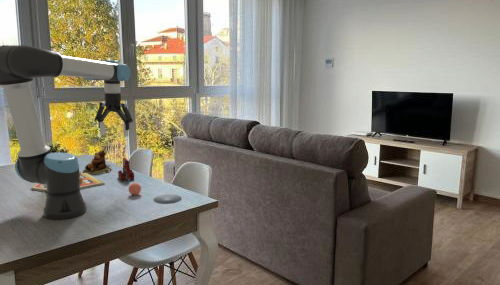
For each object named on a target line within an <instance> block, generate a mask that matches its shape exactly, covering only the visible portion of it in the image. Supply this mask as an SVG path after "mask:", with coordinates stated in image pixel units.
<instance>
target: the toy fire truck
mask: <svg viewBox="0 0 500 285" xmlns="http://www.w3.org/2000/svg"><path fill="white" fill-rule="evenodd" d="M117 176H118V178H119V181H121V182H122V181H124V180H132V181H133V180H135V172H134V171H133V169H131V168H130V161H129V160H128V159H127V158H126V157H122V170H118V171H117Z"/></svg>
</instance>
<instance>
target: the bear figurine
mask: <svg viewBox="0 0 500 285" xmlns="http://www.w3.org/2000/svg"><path fill="white" fill-rule="evenodd" d="M105 157H106V152H105V149H102V150H99V151H96V152H95V154H94V155H93V158H92V159H91V162H90V163H87V164H85V166H84V169H83V171H82V172H81V173H88V174H90V175H98V174H106V173H111V172H112V167H111V166H112V165H111V164H107V163H106V158H105Z"/></svg>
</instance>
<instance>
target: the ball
mask: <svg viewBox="0 0 500 285" xmlns="http://www.w3.org/2000/svg"><path fill="white" fill-rule="evenodd" d="M141 191H142V187H141V184H140V183H138V182H133V183H131V184H130V185H129V187H128V192H129V194H131V195H133V196H137V195H139V194H140V193H141Z"/></svg>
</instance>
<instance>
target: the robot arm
mask: <svg viewBox="0 0 500 285" xmlns="http://www.w3.org/2000/svg"><path fill="white" fill-rule="evenodd" d="M59 76H64V77H74V78H82V79H85V80H87V81H103V86H104V87H103V91H104V101H105V102H104V101H100V102H99V107H98V109H97V111H96V114H95V117H94V121H97V122H98V129H99V135H100V136H104V135H106V129H105V128H106V126H105V118H106V117H107V116H108V114H109V113H112V112H113V113H116V114H118V116H119V117H120V119H121V120H122V122H124V123H123V124H122V125H123V129H122V130H123V137H124V138H127V137H129V131H130V124H131V123H133V122H134V120H133V118H132V115H131V114H130V112H129V109H128V105H127V103H126V102H122V103H121V101H122V94H121V91H122V90H121V89H122V88H121V82H126V81H128V80H129V79H130V77H131V68H130V66H128V64H125V63H120V61H118V60H112V59H111V60H107V59H105V60H103V61H100V60H95V59H88V58H81V57H74V56H69V55H64V54H63V55H62V54H60V52H58V51H55V50H50V49H44V48H41V47H36V46H32V45H25V44H22V45H21V44H20V45H17V44H16V45H8V44H7V45H5V44H3V45H0V88H2V89H3V91H4V94H5V95H4V96H5V98H6V103H7V105H8V109H9V113H10V117H11V119H12V122H13V126H14V131H15V134H16V135H15V136H16V138H17V141H18V145H19V151H18V152H17V159H16V162H15V163H14V170H15V173H16V175H17V176H18V178H20V179H21V180H23V181H26V182H29V183H32V184H37V183H39V184H44V185H47V192H46V193H47V194H46V200H45V206H44V208H43V217H44V218H45V219H48V220H67V219H72V218H77V217H78V216H81V215H83V214H84V213H85V212H87V204H86V203H85V200H84V198H83V195H82V194H81V189H80V179H79V171H80V164H79V159H78V157H77V156H76V155H75V154H73V153H68V152H52V151H51V147H50V146H49V145H47V144H45V140H44V136H43V131H42V127H41V124H40V120H39V117H38V111H37V108H36V105H35V100H34V97H33V96H34V95H33V92H32V87H31V84H32V83H33V82H34V79H35V78H36V79H38V78H58V77H59Z"/></svg>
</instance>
